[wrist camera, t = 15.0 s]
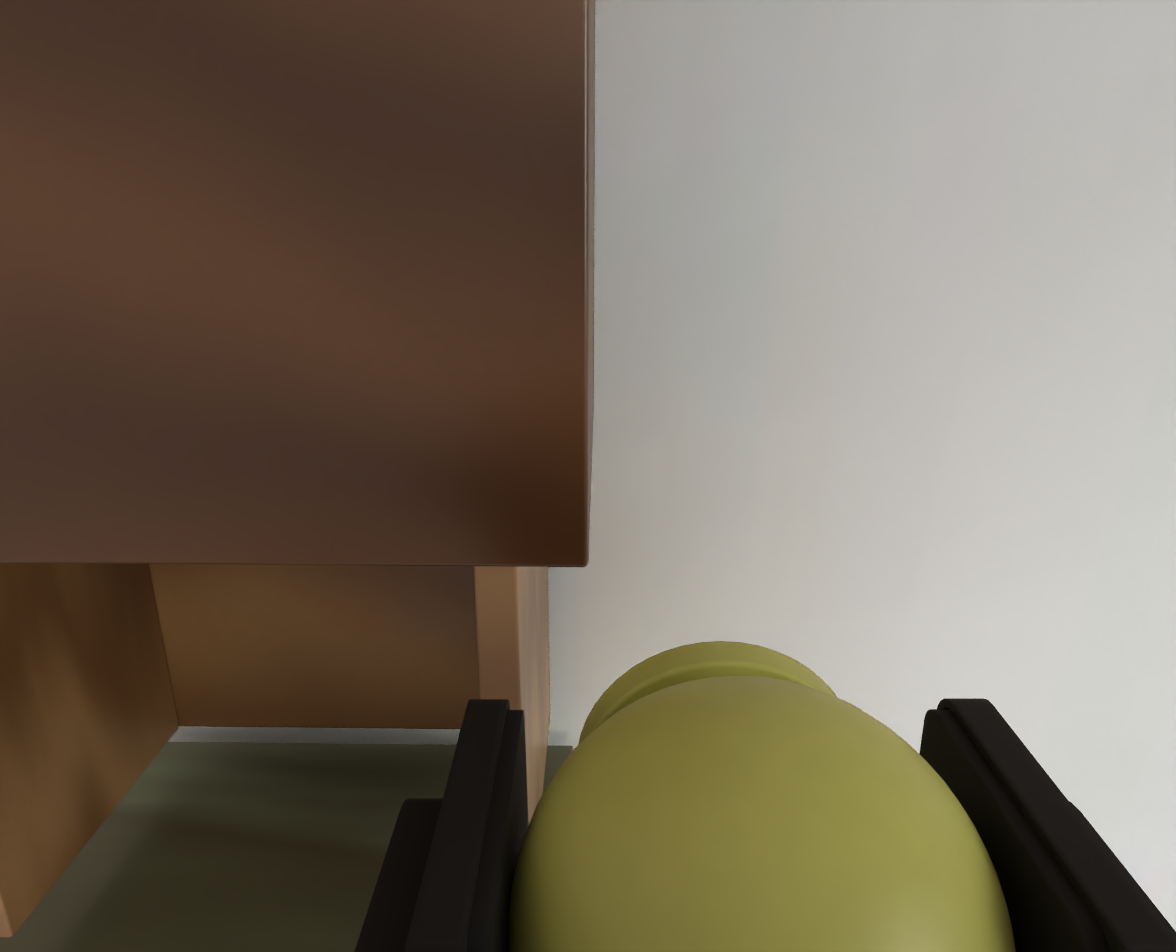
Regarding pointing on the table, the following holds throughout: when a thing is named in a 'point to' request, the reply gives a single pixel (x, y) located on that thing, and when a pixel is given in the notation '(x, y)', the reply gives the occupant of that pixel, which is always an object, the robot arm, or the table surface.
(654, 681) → the pear
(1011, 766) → the robot arm
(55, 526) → the cabinet
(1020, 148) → the table surface
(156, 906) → the drawer
